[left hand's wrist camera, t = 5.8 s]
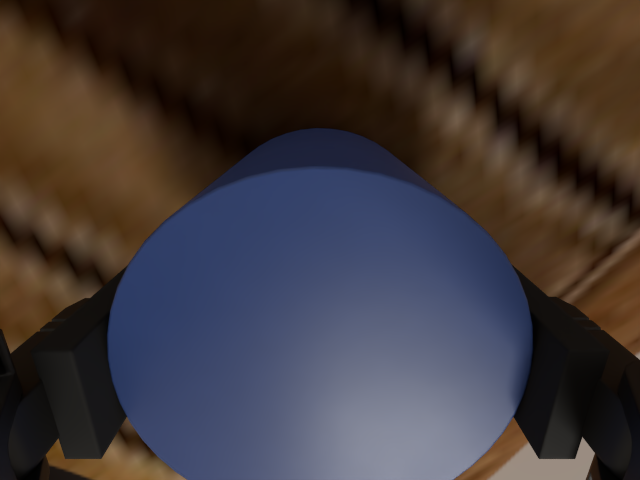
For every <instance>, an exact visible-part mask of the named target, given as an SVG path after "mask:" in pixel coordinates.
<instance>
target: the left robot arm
mask: <svg viewBox="0 0 640 480" xmlns="http://www.w3.org/2000/svg"><path fill="white" fill-rule="evenodd" d="M511 265H512V264H511ZM512 267H513V268H514V270H515V272H516V273H517V275H518V277H519V280H520V282H521V285H522V288H523V290H524V293H525V295H526V298H527V301H528V306H529V311H530V316H531V321H532V328H533V355H532V363H531V371H530V375H529V378H528V382H527V385H526V389H525V392H524V395H523V397H522V399H521V402H520V404H519V406H518V408H517V410H516V413H515V415H514V416H513V417H514V418H515V420H516V422H517V423H518V425H519V427H520V428H521V430H522V432H523V433H524V435H525V437H526V438H527V440H528V441H529V443H530V445H531V446H532V448H533V450H534V451H535V453H536V455H537V456H538V458H539V459H575V457H576V454H577V451H578V448H579V445H580V442H581V439H582V437H583V438H584V439H585V441H586V442H587V443H588V444H589V446H590V447H591V448H592V450H593V451H594V452H595V455H594V458H593V461H592V464H591V466H590V469H589V472H588V475H587V478H586V480H640V360H639V359H638V358H637V357H636V356H634V355H633V354H632V353H631V352H629V351H628V350H627V349H626V348H625V347H623V346H622V345H621V344H620V343H619V342H617V341H616V340H615V339H614V338H612V337H611V336H610V335H609V334H608V333H606V332H605V331H604V330H601V329H600V327H599V326H598V325H597V324H595V323H594V322H593V321H592V320H589V318H588V317H587V316H586V315H585V314H583V313H582V312H581V311H580V310H578V309H577V308H576V307H575V306H573V305H571V304H569V303H567V302H565V301H563V300H561V299H559V298H557V297H548V296H547V295H546V294H545V293H544V292H542V291H541V290H540V289H539V288H538V287H537V286H536V285H534V284H533V283H532V282H531V281H530V280H529V279H528V278H526V277H525V276H524V275H523V274H522V273H521V272H520V271H518V270H517V269H516V268H515V267H514V266H513V265H512ZM126 268H127V266H126V267H125V268H124V269H123V270H122V271H121V272H120V273H118V274H117V275H116V276H115V277H114V278H113V279H112V280H110V281H109V282H108V283H107V284H106V285H105V286H104V287H102V288H101V289H100V290H99V291H98V292H97V293H96V294H94V295H93V296H92V297H91V298H84V299H82V300H80V301H79V302H77V303H75V304H73V305H71V306H69V307H67V308H65V309H64V310H63V311H61V312H60V313H59V314H58V315H57V316H55V317H54V318H53V319H52V322H48V323H47V324H46V325H45V326H43V327H42V328H41V329H40V332H36V333H35V334H34V335H33V336H31V337H30V338H29V339H28V340H27V341H25V342H24V343H23V344H22V345H21V346H19V347H18V348H17V349H16V350H14V351H13V352H12V353H11V354H10V352H9V349H8V346H7V343H6V340H5V337H4V334H3V331H2V330H1V329H0V480H48V478H49V464H48V461H47V458H46V454H47V452H48V451H49V450H50V448H51V447H52V446H53V444H54V443H55V442H56V441H57V439H58V438H59V441H60V444H61V447H62V450H63V453H64V457H65V459H101V458H102V457H103V455H104V453H105V452H106V450H107V449H108V447H109V445H110V444H111V442H112V440H113V439H114V437H115V435H116V434H117V432H118V430H119V429H120V427H121V425H122V424H123V422H124V420H125V419H126V417H127V415H126V413H125V412H124V410H123V408H122V406H121V404H120V402H119V399H118V396H117V394H116V391H115V388H114V385H113V382H112V378H111V373H110V368H109V363H108V350H107V332H108V324H109V317H110V310H111V307H112V303H113V300H114V297H115V293H116V290H117V287H118V285H119V283H120V281H121V279H122V277H123V275H124V272H125V270H126Z"/></svg>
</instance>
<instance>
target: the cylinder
mask: <svg viewBox="0 0 640 480" xmlns="http://www.w3.org/2000/svg"><path fill="white" fill-rule="evenodd" d="M107 350H108V363H109V368H110V373H111V378H112V382H113V385H114V388H115V391H116V394H117V396H118V399H119V402H120V404H121V406H122V408H123V410H124V412H125V413H126V415H127V417H128V419H129V421H130V423H131V424H132V426H133V427H134V428H135V430H136V431H137V433H138V434H139V435H140V437H141V438H142V440H143V441H144V442H145V443H146V444H147V445H148V446H149V447H150V448H151V450H152V451H153V452H154V453H155V454H156V455H157V456H158V457H159V458H160V459H161V460H163V461H164V462H165V463H166V464H167V465H168V466H170V467H171V468H172V469H173V470H174V471H175V472H177V473H178V474H180V475H181V476H183V477H184V478H186V479H187V480H454V479H455V478H456V477H458V476H459V475H460V474H462V473H463V472H464V471H466V470H467V469H468V468H470V467H471V466H472V465H473V464H474V463H476V462H477V461H478V460H479V459H480V458H481V457H482V456H483V455H484V454H485V453H486V452H487V451H488V450H489V449H490V448H491V447H492V445H493V444H494V443H495V442H496V441H497V439H498V438H499V437H500V436H501V435H502V433H503V432H504V430H505V429H506V427H507V426H508V424H509V423H510V421H511V419H512V418H513V416H514V415H515V413H516V410H517V408H518V406H519V404H520V402H521V399H522V397H523V395H524V392H525V389H526V385H527V382H528V378H529V375H530V371H531V363H532V355H533V328H532V321H531V316H530V311H529V306H528V301H527V298H526V295H525V293H524V290H523V288H522V285H521V282H520V280H519V277H518V275H517V273H516V272H515V270H514V268H513V267H512V265H511V263H510V261H509V260H508V258H507V256H506V255H505V253H504V252H503V251H502V249H501V248H500V247H499V246H498V244H497V243H496V242H495V241H494V240H493V238H492V237H491V236H490V235H489V233H488V232H487V231H486V230H484V229H483V228H482V227H481V226H480V225H479V224H478V223H477V222H476V221H474V220H473V219H472V218H471V217H470V216H469V215H468V214H467V213H466V212H464V211H463V210H462V209H460V208H459V207H458V206H457V205H455V204H454V203H453V202H452V201H450V200H449V199H448V198H447V197H445V196H444V195H443V194H442V193H440V192H439V191H438V190H437V189H435V188H434V187H433V186H431V185H430V184H429V183H428V182H426V181H425V180H424V179H423V178H421V177H420V176H419V175H418V174H416V173H415V172H414V171H413V170H411V169H410V168H409V167H408V166H406V165H405V164H404V163H403V162H401V161H400V160H399V159H397V158H396V157H395V156H394V155H392V154H391V153H390V152H389V151H387V150H386V149H384V148H383V147H381V146H380V145H378V144H377V143H375V142H373V141H371V140H369V139H367V138H365V137H363V136H360V135H357V134H354V133H351V132H348V131H342V130H336V129H325V128H313V129H303V130H298V131H294V132H290V133H286V134H283V135H281V136H278V137H275V138H273V139H271V140H269V141H267V142H266V143H264V144H262V145H260V146H259V147H257V148H256V149H255V150H253V151H252V152H251V153H249V154H248V155H247V156H245V157H244V158H243V159H242V160H240V161H239V162H238V163H237V164H235V165H234V166H233V167H232V168H230V169H229V170H228V171H227V172H225V173H224V174H223V175H222V176H220V177H219V178H218V179H217V180H215V181H214V182H213V183H211V184H210V185H209V186H208V187H206V188H205V189H204V190H203V191H201V192H200V193H199V194H198V195H196V196H195V197H194V198H193V199H191V200H190V201H189V202H188V203H186V204H185V205H184V206H183V207H181V208H180V209H179V210H178V211H176V212H175V213H174V214H173V215H171V216H170V217H169V218H168V219H166V220H165V221H164V222H163V223H162V224H161V225H160V226H159V227H158V228H157V229H156V230H155V231H154V232H153V233H152V234H151V235H150V236H149V237H148V238H147V239H146V240H145V242H144V243H143V244H142V246H141V247H140V249H139V250H138V251H137V253H136V254H135V256H134V257H133V258H132V260H131V261H130V263H129V264H128V266H127V268H126V270H125V272H124V275H123V277H122V279H121V281H120V283H119V285H118V287H117V290H116V293H115V297H114V300H113V303H112V307H111V310H110V317H109V324H108V332H107Z"/></svg>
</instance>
